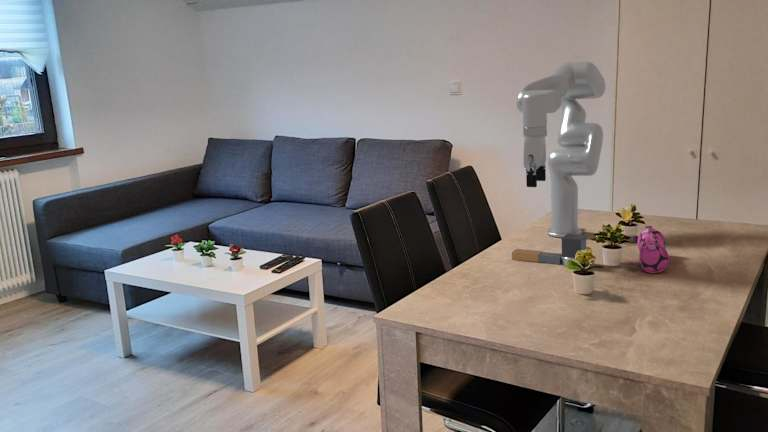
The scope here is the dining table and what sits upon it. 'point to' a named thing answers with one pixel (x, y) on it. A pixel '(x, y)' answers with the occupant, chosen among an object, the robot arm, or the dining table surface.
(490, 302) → the dining table surface
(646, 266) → the pencil case
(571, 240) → the dark slate cube
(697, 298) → the dining table surface
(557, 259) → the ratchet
